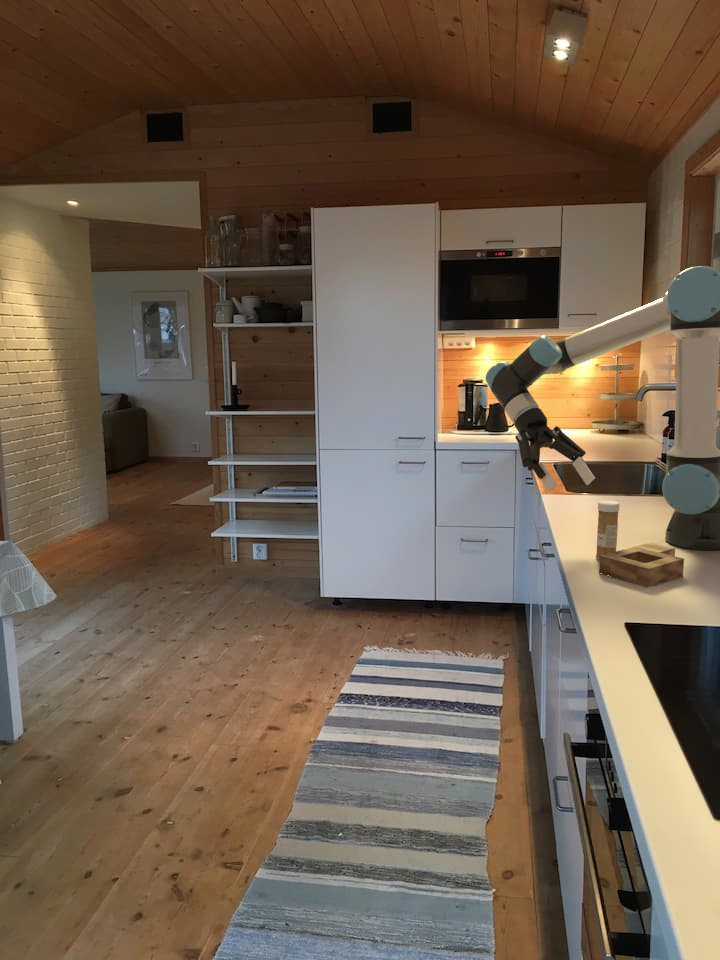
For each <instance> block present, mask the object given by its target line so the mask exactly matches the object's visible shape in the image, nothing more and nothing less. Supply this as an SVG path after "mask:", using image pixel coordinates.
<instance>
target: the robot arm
mask: <svg viewBox="0 0 720 960" xmlns="http://www.w3.org/2000/svg"><path fill="white" fill-rule="evenodd" d="M668 330H670V331H669V332H670V333H671V334H672V335H674V337H676V340H677V341H676V343H677V344H676V345H677V346H676V372H675V373H676V374H675V375H676V376H675V377H676V379H675V382H676V383H675V406H674V407H675V408H674V409H675V410H674V411H675V413H674V441H673V442H674V443H673V446H672V447H671V448H670V449H669V450H668V451H667V452H666V471H665V473H666V474H665V475H664V478H663V480H662V485H661V486H662V487H661V488H662V489H661V491H662V494H663V495H662V496H663V497H664V500H665V502H666V503H667V504H668V505H669V506H670V507H671V508H672V509H673V512H672V515H671V517H670V520H669V522H668V525H667V527H666V529H665V537H664V540H665V542H667V543H668V544H671V545H673V546H676V547H680V548H687V549H692V550H693V549H694V550H703V551H707V550H708V551H714V550H715V551H716V550H720V449H719V448H718V447H717V427H718V426H717V425H718V424H717V422H718V421H717V420H718V419H717V418H718V398H719V397H718V394H719V374H720V373H719V371H720V369H719V366H720V270H719V269H717V268H715V267H713V266H709V265H697V266H692V267H689V268H686V269H685V270H683V271H681V272H680V273H678V274H677V275H676V276H675V277H674V278H673V280H672V281H671V283H670V284H669V286H668V290H667V291H666V292H665V293H664V296H663V297H661V298H659V299H657V300H655V301H653V302H650V303H648V304H645V305H643V306H640V307H638V308H636V309H633V310H631V311H628V312H625V313H623V314H621V315H618V316H616V317H613V318H611V319H608V320H606V321H604V322H601V323H599V324H596V325H594V326H592V327H590V328H587V329H584V330H582V331H579V332H577V333H575V334H573V335H570V336H567V337H565V338H562V339H560V340H558V341H554V340H553V339H552V338H551V337H549V336H548V335H543V334H542V335H540V336H539V337H538V338H537V339H535V340H534V341H532V342H531V343H530V345H529V346H527V348H526V349H525V350H524V351H522V352H521V353H520V354H519V356H517V357H516V358H515V359H514V360H513V361H512V362H510V363H509V362H508V361H500V362H498V363H496V365H492V366H491V367H489V369H488V371H487V372H486V374H485V381H486V383H487V385H488V387H489V389H490V392H491V393H492V394H493V396H494V397H495V398H496V399H497V401H498V403H499V404H500V405H501V407H502V409H503V410H504V411H505V413H506V415H507V416H508V418H509V419H510V421H511V422H512V423H513V426H514V427H515V429H516V430H517V434H516V435H515V440H516V441H517V443H518V449H519V454H520V458H521V459H520V460H521V464H522V467H523V468H527V470H528V471H530V472H531V471H533V473H535V475H536V476H537V478H538V479H540V481H541V482H542V484H543V485H544V487H545V489H546V490H547V492H549V493H550V492H552V491H553V490H554V489H555V488H556V486H558V483H557V481H556V480H555V478H554V477H553V475H552V474H551V472H550V471H549V469H548V467H546V465H545V463H544V462H543V461H542V462H540V460H541V459H540V458H541V449H542V448H549V449H550V450H554V451H556V452H558V453H559V454H561V455H563V456H564V457H566V458H567V459H569V460H570V461H571V462H572V463H571V465H572V466H573V467H574V469H575V470H576V472H577V473H578V475H579V476H580V478H581V480H582V481H583V483H584V484H585V485H586V486H588V485H590V483H592V482H593V481H594V480H595V479H596V477H595V475H594V474H593V472H592V471H591V470H590V468H589V466H588V464H587V462H586V461H585V460H584V458H583V457H584V456H585V455H586V454H587V453H586V450H584V449H583V448H581V446H579V444H577V443H576V442H575V441H574V440H572V439H571V438H570V437H569V436H568V435H566V434H565V433H564V432H563V431H562V429H561V428H560V426H558V425H555V427H554V428H551V427H549V426H548V418H547V416H546V415H545V413H544V412H543V411H542V409H541V408H540V407H539V404H538V402H537V401H536V400H535V399H534V397H533V396H532V394H531V393H530V391H529V389H528V388H530V387H531V386H532V385H533V384H534V383H535V382H536V381H538V380H539V379H540V378H542V376H544V375H551V374H553V375H555V374H560V373H563V372H565V371H566V370H567V369H570V368H572V367H575V366H577V365H580V364H583V363H585V362H587V361H591V360H592V359H596V358H598V357H601V356H604V355H606V354H609V353H611V352H613V351H616V350H618V349H622V348H624V347H627V346H629V345H632V344H634V343H637V342H640V341H642V340H646V339H648V338H649V337H653V336H655V335H659V334H660V333H663V332H666V331H668Z"/></svg>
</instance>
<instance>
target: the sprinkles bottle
mask: <svg viewBox="0 0 720 960" xmlns="http://www.w3.org/2000/svg"><path fill="white" fill-rule="evenodd" d="M619 511H620V503H619V502H618V501H615V500H609V499H608V500H600V501H598V502H597V512H598V518H597V519H598V521H597V533H596V534H597V535H596V537H597V538H596V555H595V559H596V560H598V561H600V556H601V555H604V554H608V553H612V552H616V551H617V545H618V544H617V543H618V528H619V523H618V522H619V521H618V520H619V519H618V517H619Z"/></svg>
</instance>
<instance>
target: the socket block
mask: <svg viewBox="0 0 720 960" xmlns="http://www.w3.org/2000/svg"><path fill="white" fill-rule="evenodd" d="M684 563H685V558H683V557H680V556H679V557H678V556H676V555H675V556H671V555H667V554H663V553H659V552H655V551H651V550H647V549H643V548H639V547H635V546H632V547H629V548H624V549H621V550H616V552H612V553H608V554H604V555H601V556H600V560H599V570H598V574H599V573H602V574H605V575H604V576H606V575H609V576H611V577H610V578H613V577H614V578H613V579H616V578H617V580H619V579H620V581H624V582H626V583H630V584H633V585H637V586H641V587H643V586H644V588H647V587H649V588H651V586H652V587H654V586H659V585H661V583H662V584H664V583H668V582H671V581H674V580H675V581H676V580H678V579H681V578H684V567H685V566H684ZM602 574H601V575H602ZM609 576H608V577H609ZM658 584H659V585H658Z"/></svg>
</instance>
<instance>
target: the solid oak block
mask: <svg viewBox="0 0 720 960" xmlns="http://www.w3.org/2000/svg"><path fill="white" fill-rule="evenodd" d="M634 547H639V548H643V549H647V550H651V551H655V552H659V553H663V554H667V555H671V556H675V557H676V548H675V547H672V546H668V545H663V544H661V543H660V544H659V543H655V542H648V543H644V544H640V545H636V546H634Z"/></svg>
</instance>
